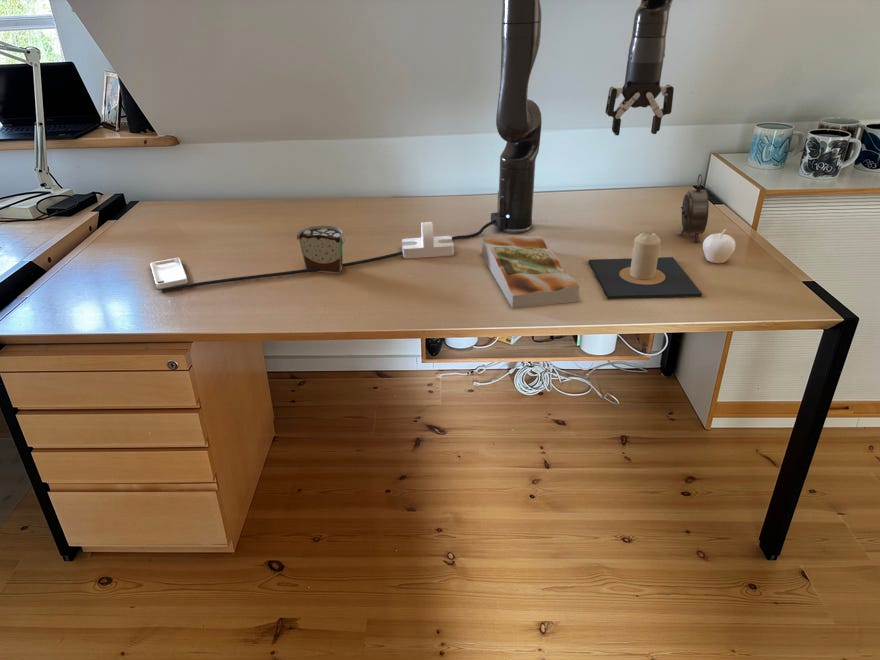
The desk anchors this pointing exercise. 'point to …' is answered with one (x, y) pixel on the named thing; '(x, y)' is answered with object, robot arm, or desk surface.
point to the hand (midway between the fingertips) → (634, 134)
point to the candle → (645, 256)
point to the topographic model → (528, 271)
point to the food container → (322, 248)
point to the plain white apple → (718, 247)
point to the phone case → (169, 273)
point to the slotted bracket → (427, 244)
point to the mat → (624, 286)
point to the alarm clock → (695, 211)
